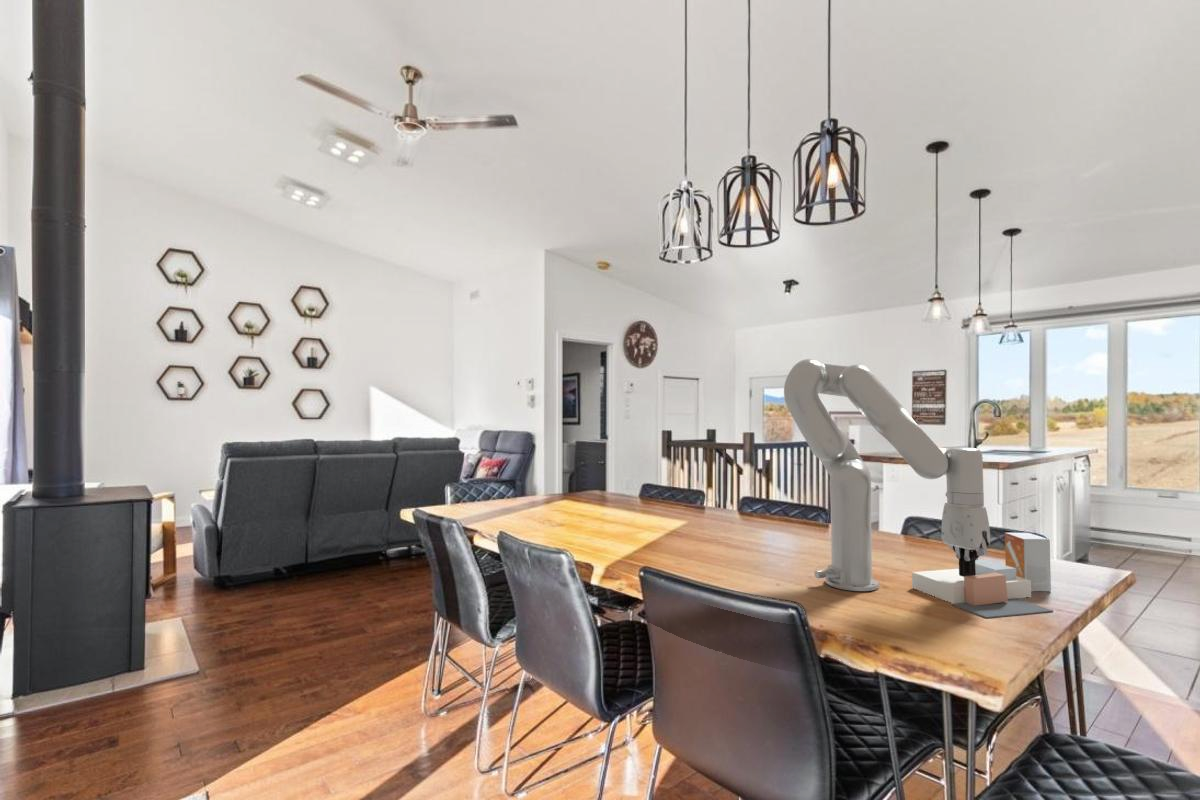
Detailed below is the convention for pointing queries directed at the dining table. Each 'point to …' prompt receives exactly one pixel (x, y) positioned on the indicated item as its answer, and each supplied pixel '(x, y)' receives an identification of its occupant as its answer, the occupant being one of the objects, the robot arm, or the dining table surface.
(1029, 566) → the small box
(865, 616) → the dining table surface
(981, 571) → the blue-grey tile
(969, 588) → the terracotta tile
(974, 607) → the mat
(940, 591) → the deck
